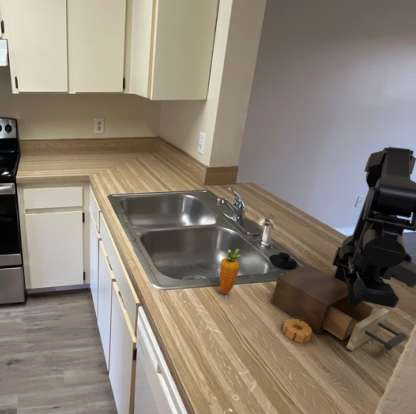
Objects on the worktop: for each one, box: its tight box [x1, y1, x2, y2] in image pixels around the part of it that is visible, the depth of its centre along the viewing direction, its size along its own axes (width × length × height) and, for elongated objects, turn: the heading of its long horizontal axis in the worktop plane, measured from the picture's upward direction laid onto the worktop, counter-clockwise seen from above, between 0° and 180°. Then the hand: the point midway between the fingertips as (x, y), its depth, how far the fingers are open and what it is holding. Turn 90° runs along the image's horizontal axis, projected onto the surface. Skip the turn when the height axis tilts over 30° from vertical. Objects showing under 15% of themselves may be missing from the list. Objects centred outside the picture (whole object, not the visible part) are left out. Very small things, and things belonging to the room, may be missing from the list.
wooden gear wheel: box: [282, 317, 313, 344], centre depth 81 cm, size 6×6×2 cm
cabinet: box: [270, 263, 349, 334], centre depth 87 cm, size 13×13×9 cm
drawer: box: [322, 297, 408, 351], centre depth 79 cm, size 17×12×7 cm
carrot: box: [219, 248, 242, 295], centre depth 92 cm, size 5×5×15 cm
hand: (353, 304), depth 73 cm, fingers closed
